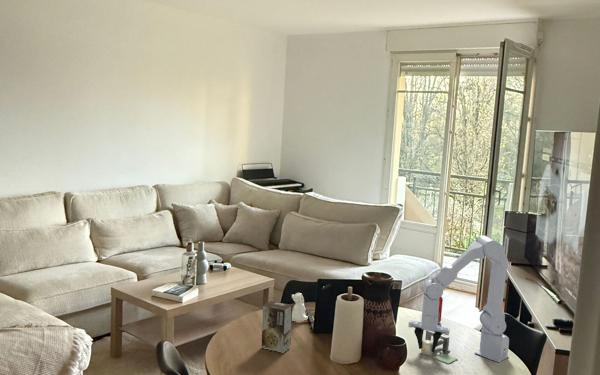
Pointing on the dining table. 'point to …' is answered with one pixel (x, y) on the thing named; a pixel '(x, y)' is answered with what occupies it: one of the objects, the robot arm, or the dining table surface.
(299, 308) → the seated beast figurine
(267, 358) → the dining table surface
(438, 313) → the beverage can
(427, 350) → the plug
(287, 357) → the dining table surface
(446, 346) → the bracket
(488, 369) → the dining table surface
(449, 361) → the pad
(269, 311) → the coffee box
